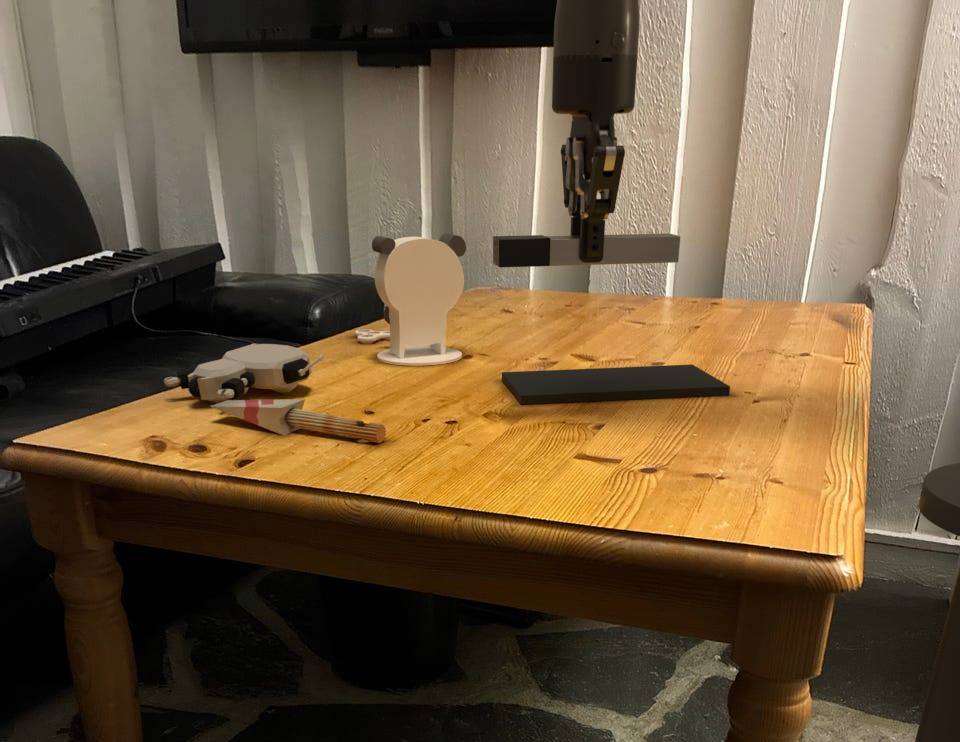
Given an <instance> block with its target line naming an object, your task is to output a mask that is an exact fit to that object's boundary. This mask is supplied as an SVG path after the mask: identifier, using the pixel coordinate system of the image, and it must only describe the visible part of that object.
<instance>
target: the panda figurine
mask: <svg viewBox="0 0 960 742" xmlns="http://www.w3.org/2000/svg"><path fill="white" fill-rule="evenodd" d="M371 249H372V251H373V252H375V253H379V254H378V257H377V260H376V264H375V270H374V284H375V289H376V292H377V294H378V296H379V298H380V300H381V301H382V302H383V304H385V305H386V306H385V307H384V310H383V314H382V315H383V319H384V321H385V322H386V323H387V324H389V331H390V338H389V348H387V349H384V350H381V351H380V352H378V353H377V357H376V358H377V360H378V361H380V362H381V363H384V364H385V363H386V364H390V365H397V366H412V367H416V366H417V367H419V366H420V367H422V366H423V367H424V366H435V365H436V366H438V365H445V364H449V363H453V362H457V361H459V360H461V359H462V357H463V353H462V352H461V350H458V349H456V348H452V347H451V348H450V347H446V343H447V327H448V326H447V325H448V313H449V311H451V310H452V308H454V307H455V305H456V304H457V303H458V301H459V299H460V298H461V296H462V293H463V290H464V289H465V288H464V287H465V275H464V274H465V273H464V269H463V265H462V264H461V261H460V259H459V258H460V257H463V256H464V255H465V253H466V251H467V244H466V242H465V239H464V238H463V237H462V236H460V235H457V234H451V233H443V234H442V235H441V236H440V237H439V240H438V239H432V238H428V237H423V236H405V237H400V238H396V239H393V238H391V237H387V236H382V235H377V236H374V237H373V239H372V242H371Z"/></svg>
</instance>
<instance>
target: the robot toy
mask: <svg viewBox="0 0 960 742" xmlns="http://www.w3.org/2000/svg"><path fill="white" fill-rule="evenodd" d="M324 359H325V355H323V354H321V355H319V356H318V357H317V358H316V359H315V360H314V361H312V362H311V359H310V356H309V354H308V353H307V352H305V351H304V350H303V349H301V348H298V347H295V346H291V345H286V344H285V345H284V344H276V343H251V344H248V345H245V346H242V347H238V348H235V349H232V350H229V351H225V353H224V355H223V356H222V358H221V359H216V360H211V361H207V362H204V363H200V364H197V366H196V368H195V369H194V368H189V369H184V370H178V371H177V372H176V373H177V376H169V377H165V378H164V379H163V383H164V385H165V386H166V387H168V388H173V387H174V388H176V387H177V386H180V388H181V390H187V389H188V392H189V394H190V395H191V397H192V398H193V399H194V398H195V399H201V401H209V402H211V403H214V404H218V403H221V402H224V401H227V400H239V398H241V397H242V396H243V395H245V394H246V393H248V390H249V389H250V388H253V389H265V390H273V391H275V392H278V393H283V394H285V393H290V392H292V391H293V390H294V389H295V388H296V387H297V386H298V385H299V383H302V382H305V381H307V380H308V379H309V378H310V376H311V374H312V367H314V366H315V365H316V364H318V363H319V362H321V361H324Z"/></svg>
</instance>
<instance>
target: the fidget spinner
mask: <svg viewBox="0 0 960 742" xmlns="http://www.w3.org/2000/svg"><path fill="white" fill-rule="evenodd" d="M354 335H355V337H356V339H357V341H358V342H361V343H372V342H376V341H378V340H382V339H390V330H383V331H381V330H380V331H379V330H378V331H377V330H373V329H357V330H354Z"/></svg>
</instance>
